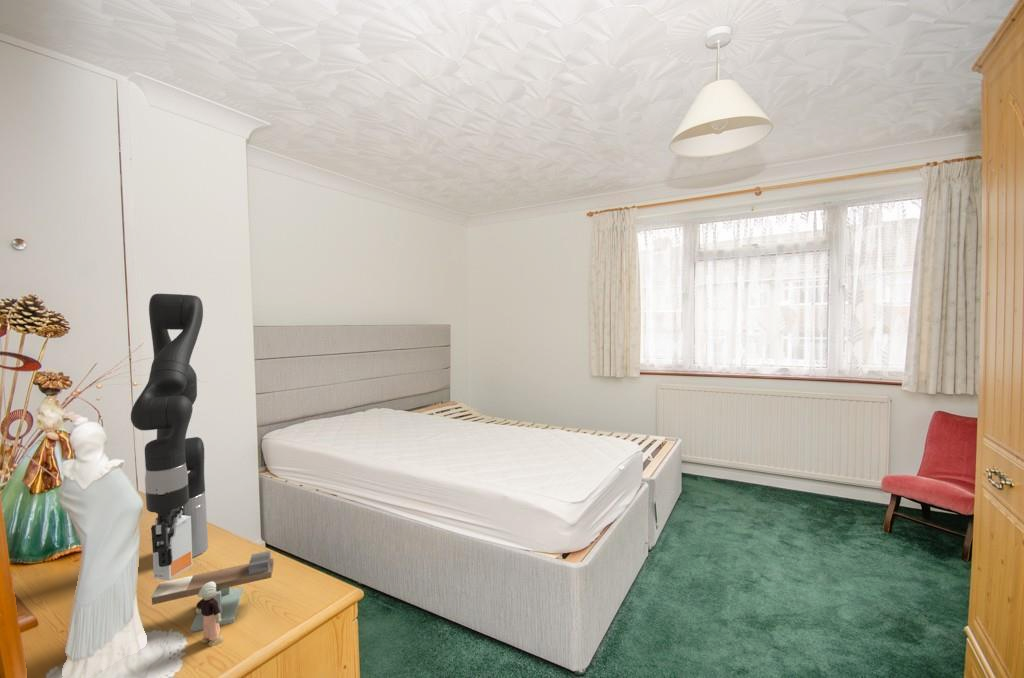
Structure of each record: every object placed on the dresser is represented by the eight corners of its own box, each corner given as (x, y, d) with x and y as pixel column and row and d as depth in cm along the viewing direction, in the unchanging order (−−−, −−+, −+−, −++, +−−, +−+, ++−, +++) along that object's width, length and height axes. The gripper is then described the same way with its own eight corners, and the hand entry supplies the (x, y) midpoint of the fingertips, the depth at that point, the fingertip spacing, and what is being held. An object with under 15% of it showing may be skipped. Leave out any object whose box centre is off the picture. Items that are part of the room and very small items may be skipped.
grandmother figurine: (233, 635, 97) (230, 580, 96) (218, 649, 93) (215, 591, 92) (204, 629, 99) (201, 575, 98) (188, 642, 95) (184, 585, 94)
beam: (162, 592, 104) (160, 571, 103) (274, 567, 112) (273, 547, 112) (150, 613, 97) (148, 590, 96) (271, 584, 105) (269, 563, 105)
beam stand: (205, 598, 109) (203, 571, 108) (242, 590, 112) (241, 564, 111) (191, 632, 98) (189, 601, 97) (233, 622, 101) (232, 593, 100)
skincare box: (169, 581, 98) (166, 528, 97) (153, 578, 98) (150, 526, 98) (194, 565, 103) (191, 515, 103) (178, 563, 104) (176, 513, 104)
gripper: (157, 476, 104) (161, 543, 106) (133, 501, 91) (138, 578, 93) (196, 471, 107) (199, 537, 109) (177, 495, 94) (182, 570, 95)
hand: (171, 555), depth 101 cm, fingers closed on skincare box, 7 cm apart
